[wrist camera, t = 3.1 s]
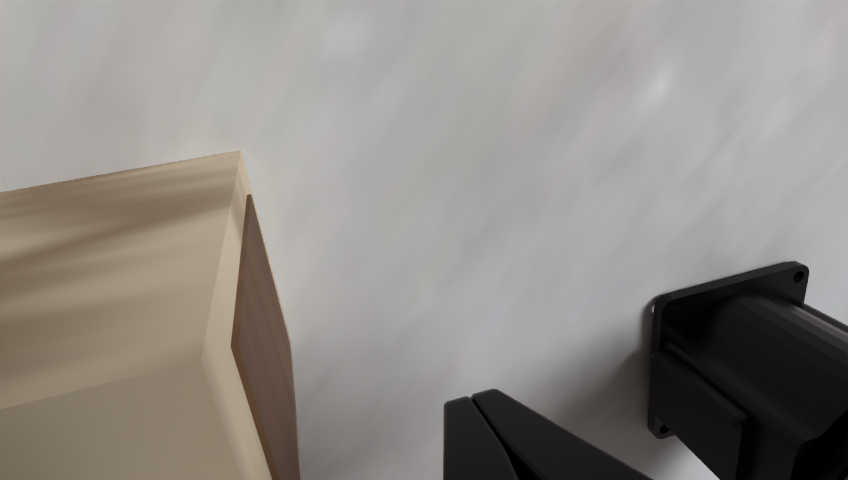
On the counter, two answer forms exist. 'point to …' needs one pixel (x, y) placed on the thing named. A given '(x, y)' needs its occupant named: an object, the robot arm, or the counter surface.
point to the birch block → (143, 330)
